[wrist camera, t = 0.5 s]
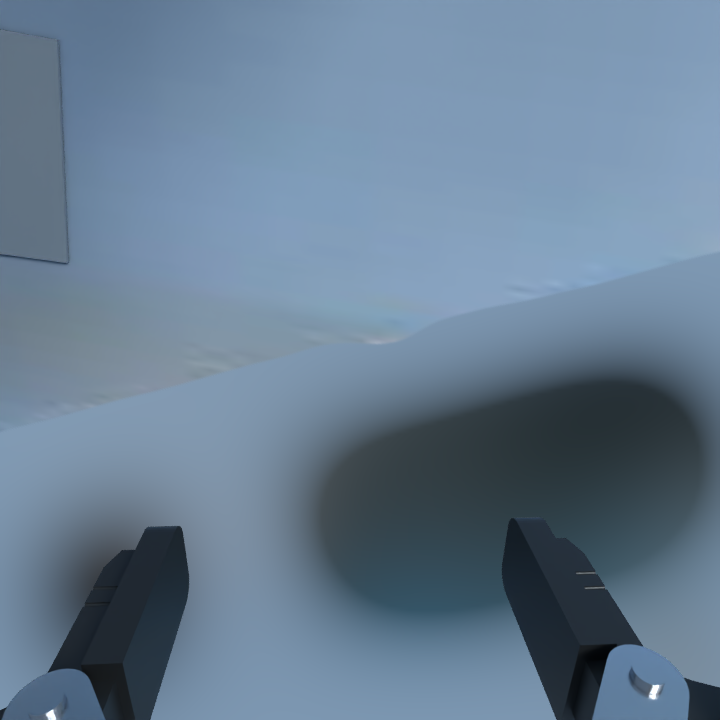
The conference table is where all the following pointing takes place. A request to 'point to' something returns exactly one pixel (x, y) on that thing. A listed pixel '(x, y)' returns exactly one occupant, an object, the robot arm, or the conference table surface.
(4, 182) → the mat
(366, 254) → the conference table surface
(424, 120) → the conference table surface
